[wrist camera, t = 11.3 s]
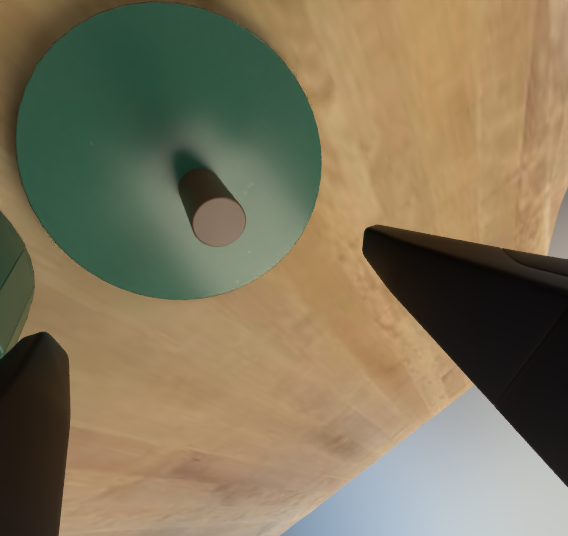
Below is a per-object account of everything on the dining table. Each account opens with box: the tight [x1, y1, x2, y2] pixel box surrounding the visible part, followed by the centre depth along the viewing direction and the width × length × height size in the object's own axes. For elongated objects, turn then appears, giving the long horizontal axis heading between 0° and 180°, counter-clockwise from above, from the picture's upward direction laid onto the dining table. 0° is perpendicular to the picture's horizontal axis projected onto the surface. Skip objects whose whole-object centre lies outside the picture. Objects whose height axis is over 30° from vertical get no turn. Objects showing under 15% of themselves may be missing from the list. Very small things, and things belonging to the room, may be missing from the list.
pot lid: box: [15, 2, 321, 300], centre depth 14 cm, size 15×15×6 cm
